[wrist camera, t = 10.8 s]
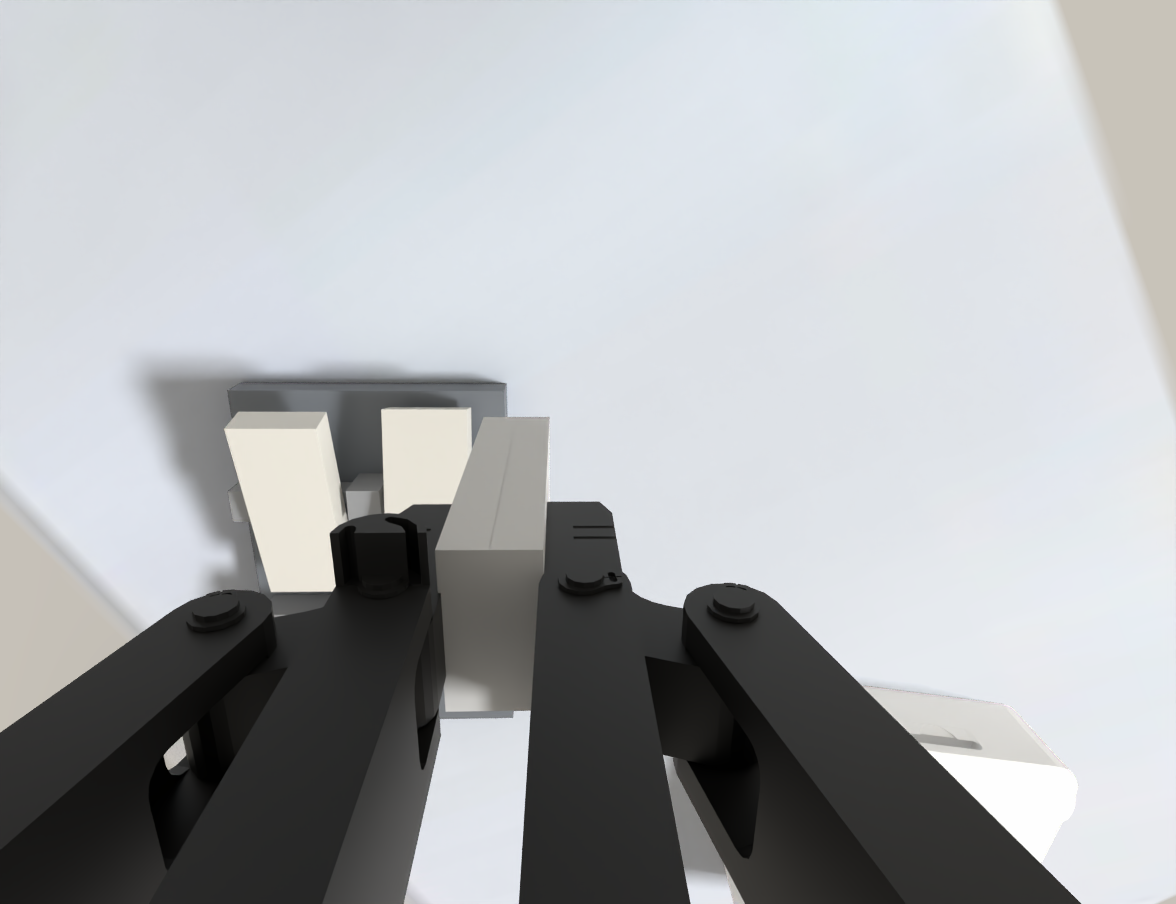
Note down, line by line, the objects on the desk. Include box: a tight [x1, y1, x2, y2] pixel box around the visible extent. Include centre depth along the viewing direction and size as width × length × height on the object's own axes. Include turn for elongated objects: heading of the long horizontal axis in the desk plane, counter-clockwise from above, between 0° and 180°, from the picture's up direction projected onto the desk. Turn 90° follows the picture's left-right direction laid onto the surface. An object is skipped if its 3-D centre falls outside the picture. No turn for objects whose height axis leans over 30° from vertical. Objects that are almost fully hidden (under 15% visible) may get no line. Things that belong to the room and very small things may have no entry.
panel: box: [227, 383, 514, 719], centre depth 47 cm, size 25×17×5 cm
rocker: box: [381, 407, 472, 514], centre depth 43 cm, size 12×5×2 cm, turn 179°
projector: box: [724, 685, 1078, 904], centre depth 55 cm, size 21×22×7 cm
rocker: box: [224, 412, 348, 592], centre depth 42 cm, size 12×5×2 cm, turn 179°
